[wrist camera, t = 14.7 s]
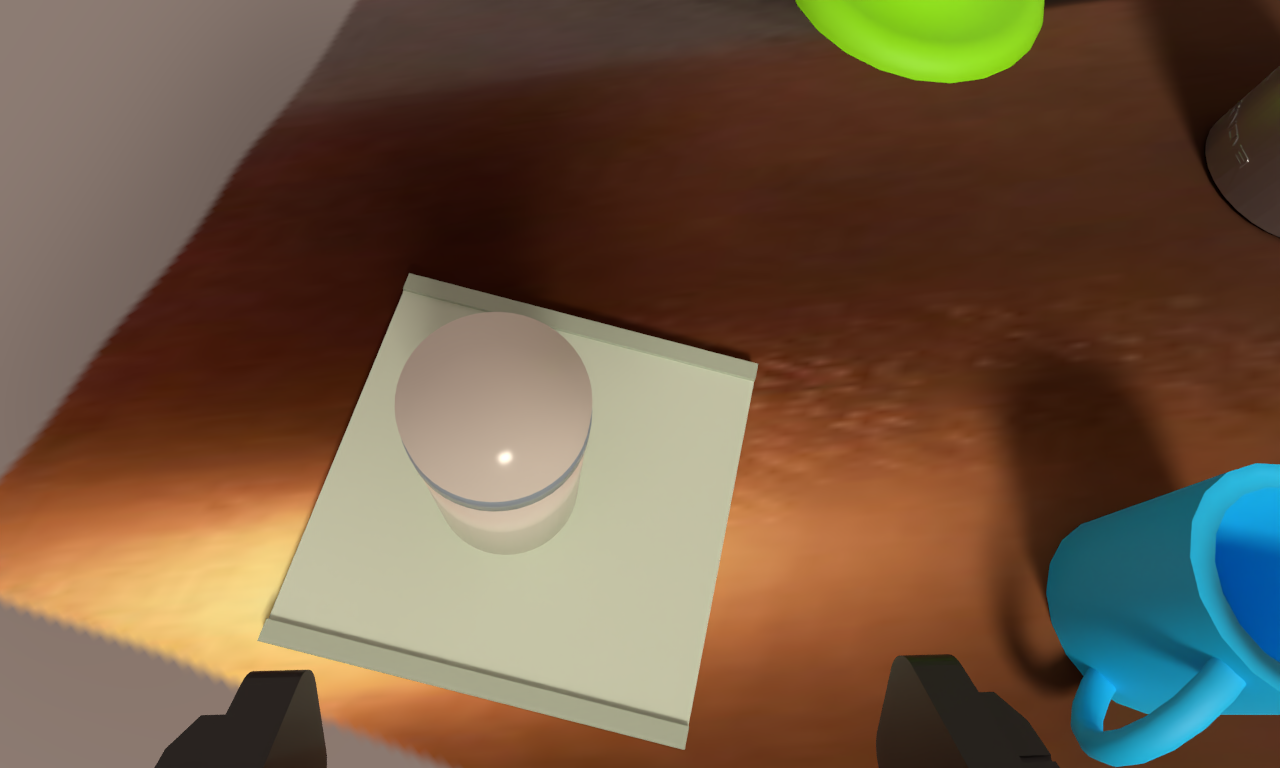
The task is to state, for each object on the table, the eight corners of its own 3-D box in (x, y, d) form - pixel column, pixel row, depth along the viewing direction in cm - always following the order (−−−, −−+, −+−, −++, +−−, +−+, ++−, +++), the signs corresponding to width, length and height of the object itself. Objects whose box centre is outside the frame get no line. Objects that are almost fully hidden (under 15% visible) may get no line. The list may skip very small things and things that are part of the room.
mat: (753, 371, 36) (758, 364, 35) (680, 748, 29) (684, 750, 29) (412, 282, 36) (409, 273, 35) (264, 642, 29) (257, 640, 29)
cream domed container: (580, 420, 33) (595, 314, 24) (578, 556, 31) (593, 497, 22) (442, 416, 33) (402, 306, 23) (430, 555, 31) (382, 495, 21)
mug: (1109, 479, 36) (1259, 417, 28) (1263, 616, 34) (1465, 588, 27) (955, 673, 32) (1082, 661, 24) (1121, 839, 30) (1312, 881, 22)
